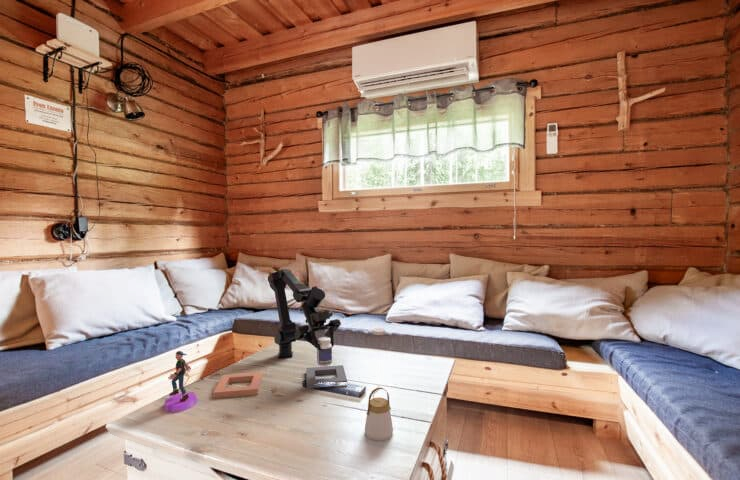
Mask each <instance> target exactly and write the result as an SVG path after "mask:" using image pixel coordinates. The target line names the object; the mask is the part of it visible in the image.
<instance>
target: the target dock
mask: <svg viewBox="0 0 740 480" xmlns="http://www.w3.org/2000/svg"><path fill="white" fill-rule="evenodd" d="M263 378H264V372H263V371H257V372H245V373H244V372H243V373H229V374H228V373H227V374H222V376H221V378H220V379H219V381H218V383H217V385H216V386H215V389H214V390H213V391H212V399H221V398H230V397H231V398H232V397H245V396H257V395H259V392H260V389H261V385H262V381H263ZM240 382H242V383H243V382H251V383H250V385H246V386H245V385H244V386H232V387H228V386H229V384H230V383H240Z"/></svg>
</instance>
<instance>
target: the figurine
mask: <svg viewBox="0 0 740 480" xmlns="http://www.w3.org/2000/svg"><path fill="white" fill-rule="evenodd" d="M187 355H188V354H187V353H184V352H183V351H181V350H177V351H176V353H175V359H176V363H175V370H176V371H175V372H173V373H171V374H170V375H169V376H168V377H167V378H168V380H169V381H171V386H172V391H171V392H170V393H169V397H168V398H166V399H165V401H164V410H165V411H167V412H171V413H174V412H175V413H176V412H181V411H185V410H187V409H190V408H192V407H193V406H195V405H196V404H197V394H196V393H194V392H187V390H186V389H185V387H184V380H185V378H184V377H185V374H186V372H187V373H191V372H190V371H191V370H192V368H191V366H190V365H189V363H187V362H186V360H185V359H184V358H183V357H184V356H187ZM177 381H178V383H177ZM177 384H178V385H177ZM179 390H180V392H179Z"/></svg>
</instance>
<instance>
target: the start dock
mask: <svg viewBox="0 0 740 480" xmlns="http://www.w3.org/2000/svg"><path fill="white" fill-rule="evenodd" d="M305 369H306V370H305V371H306V378H305V379H306V383H307V384H306V390H315V389H314V384H317V383H319V382H320V383H321V382H322V383H324V382H347V383H348V379H347V376H346V372H345V367H344V365H341V364H339V365H328V366H315V367H314V366H313V367H306V368H305ZM322 374H326V375H335V376H336V377H330V378H328V377H327V378H317V379H316V376H321V375H322ZM322 376H323V375H322Z"/></svg>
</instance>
